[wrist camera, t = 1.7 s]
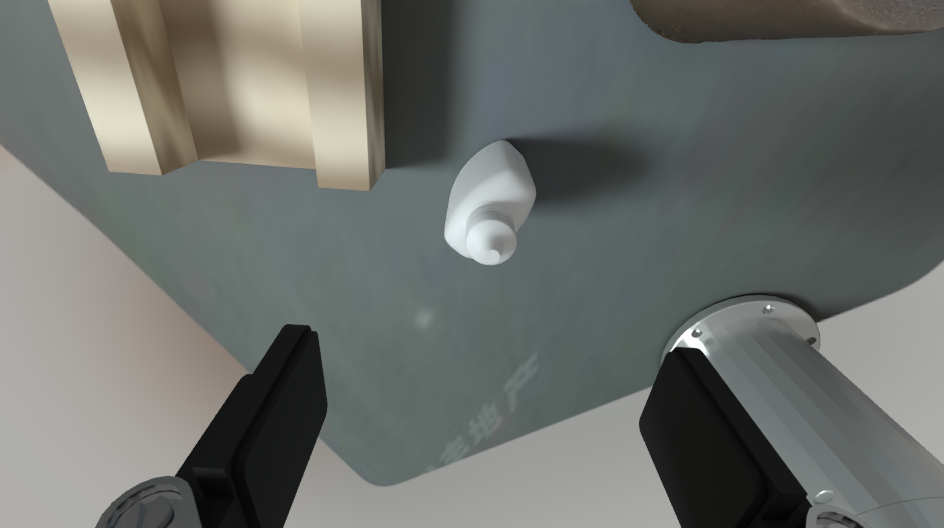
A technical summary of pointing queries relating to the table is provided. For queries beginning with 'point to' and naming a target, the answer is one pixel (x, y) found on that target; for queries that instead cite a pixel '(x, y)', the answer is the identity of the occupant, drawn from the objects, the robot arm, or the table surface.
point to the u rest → (232, 83)
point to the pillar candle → (786, 18)
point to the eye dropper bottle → (490, 204)
